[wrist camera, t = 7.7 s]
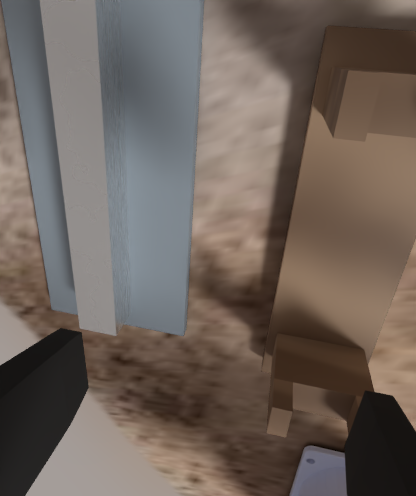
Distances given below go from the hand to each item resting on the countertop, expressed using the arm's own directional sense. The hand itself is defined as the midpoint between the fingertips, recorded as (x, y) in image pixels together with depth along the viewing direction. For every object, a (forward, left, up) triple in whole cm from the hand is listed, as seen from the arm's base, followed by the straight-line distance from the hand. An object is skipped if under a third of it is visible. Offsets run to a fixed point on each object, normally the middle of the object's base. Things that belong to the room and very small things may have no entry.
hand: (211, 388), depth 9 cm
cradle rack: (+1, -4, -9) cm, 10 cm away
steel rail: (+4, +7, -9) cm, 12 cm away
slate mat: (+4, +7, -9) cm, 12 cm away
